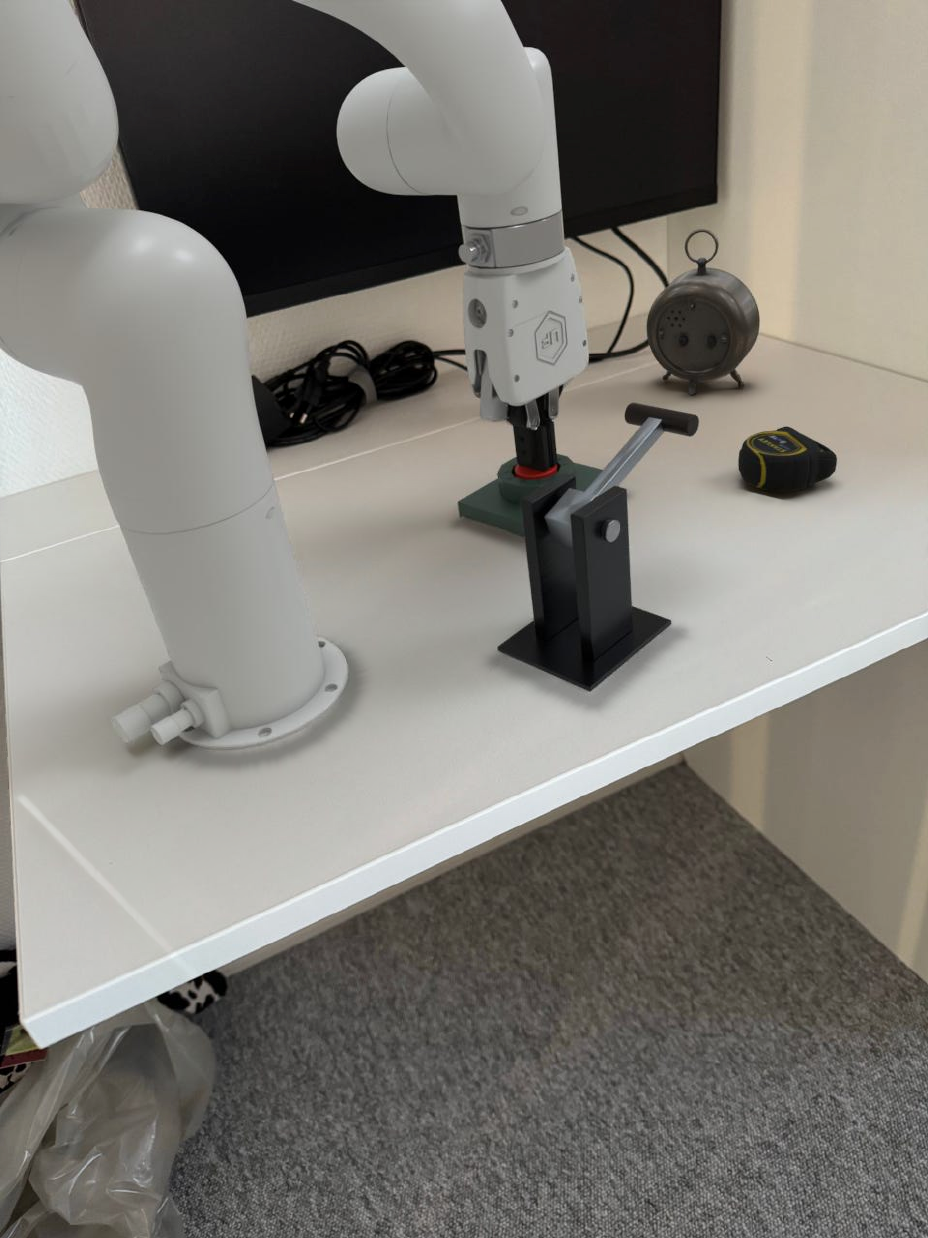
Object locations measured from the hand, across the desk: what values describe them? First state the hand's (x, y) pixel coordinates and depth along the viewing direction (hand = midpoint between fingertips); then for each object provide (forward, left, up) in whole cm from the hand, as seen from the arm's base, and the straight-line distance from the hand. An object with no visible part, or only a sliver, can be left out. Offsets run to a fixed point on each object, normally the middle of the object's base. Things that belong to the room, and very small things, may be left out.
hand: (537, 464), depth 81 cm
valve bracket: (-14, -16, -4) cm, 22 cm away
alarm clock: (+30, +3, -4) cm, 30 cm away
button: (0, 0, -2) cm, 2 cm away
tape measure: (+15, -15, -4) cm, 21 cm away
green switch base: (0, 0, -4) cm, 4 cm away
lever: (-9, -16, +6) cm, 20 cm away
